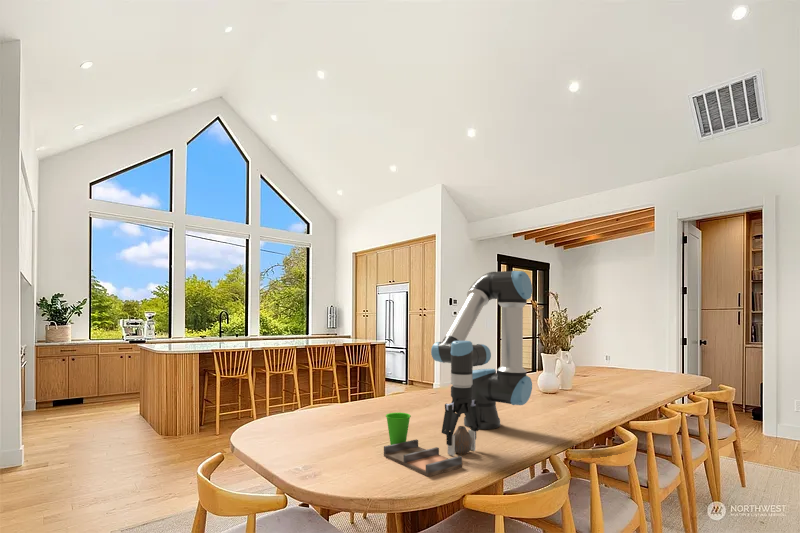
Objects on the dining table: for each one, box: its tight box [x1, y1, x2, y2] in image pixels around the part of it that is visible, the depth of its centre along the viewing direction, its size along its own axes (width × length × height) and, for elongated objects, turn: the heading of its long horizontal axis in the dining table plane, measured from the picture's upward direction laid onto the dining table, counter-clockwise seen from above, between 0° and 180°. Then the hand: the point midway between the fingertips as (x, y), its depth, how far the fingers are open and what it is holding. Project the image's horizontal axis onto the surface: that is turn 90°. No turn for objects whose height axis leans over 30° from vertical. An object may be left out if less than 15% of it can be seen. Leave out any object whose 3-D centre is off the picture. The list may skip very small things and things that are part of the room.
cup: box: [385, 412, 412, 445], centre depth 169 cm, size 9×9×11 cm
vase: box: [453, 425, 472, 456], centre depth 163 cm, size 7×7×9 cm
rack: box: [383, 438, 463, 478], centre depth 154 cm, size 14×23×3 cm, turn 37°
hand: (461, 452), depth 163 cm, fingers open, 9 cm apart
